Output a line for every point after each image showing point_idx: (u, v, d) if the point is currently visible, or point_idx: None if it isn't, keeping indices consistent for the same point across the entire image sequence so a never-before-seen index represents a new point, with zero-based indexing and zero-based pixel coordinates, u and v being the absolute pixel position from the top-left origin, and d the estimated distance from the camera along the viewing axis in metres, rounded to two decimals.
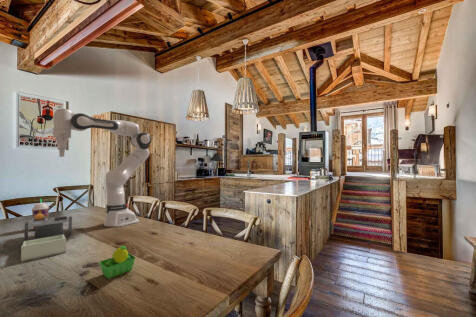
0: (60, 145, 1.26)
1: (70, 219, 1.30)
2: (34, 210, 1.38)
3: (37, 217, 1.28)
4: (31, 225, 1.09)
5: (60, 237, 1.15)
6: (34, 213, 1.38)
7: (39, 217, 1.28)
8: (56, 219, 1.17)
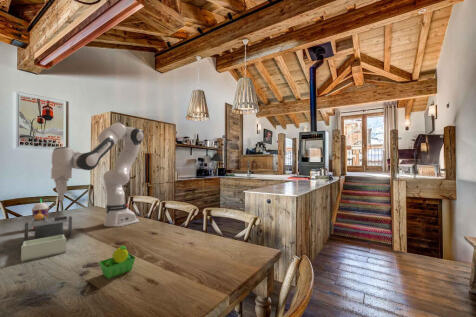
0: (59, 190, 1.12)
1: (70, 219, 1.30)
2: (34, 210, 1.38)
3: (37, 217, 1.28)
4: (31, 225, 1.09)
5: (60, 237, 1.15)
6: (34, 213, 1.38)
7: (39, 217, 1.28)
8: (56, 219, 1.17)
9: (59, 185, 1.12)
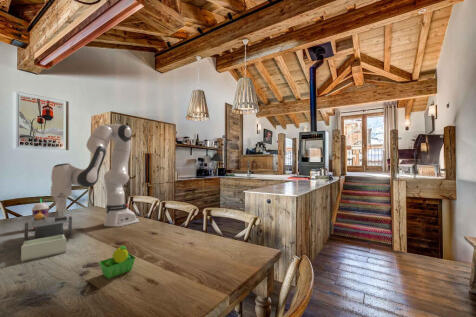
0: (59, 208, 1.12)
1: (70, 219, 1.30)
2: (34, 210, 1.38)
3: (37, 217, 1.28)
4: (31, 226, 1.09)
5: (60, 237, 1.15)
6: (34, 213, 1.38)
7: (39, 217, 1.28)
8: (56, 220, 1.17)
9: (59, 203, 1.12)
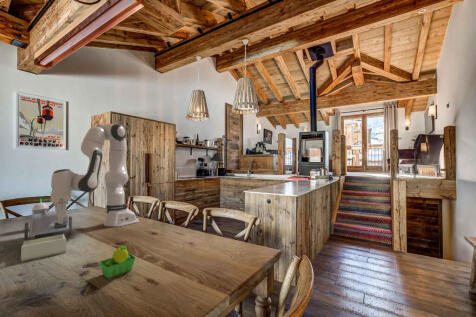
0: (59, 215, 1.11)
1: (70, 219, 1.30)
2: None
3: None
4: (31, 234, 1.09)
5: (60, 237, 1.15)
6: None
7: None
8: (56, 227, 1.16)
9: (58, 210, 1.12)
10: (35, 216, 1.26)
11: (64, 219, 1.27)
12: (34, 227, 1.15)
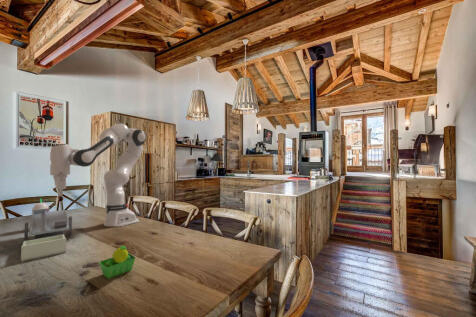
0: (58, 186, 1.16)
1: (70, 219, 1.30)
2: None
3: None
4: (31, 234, 1.09)
5: (60, 237, 1.15)
6: None
7: None
8: (56, 227, 1.16)
9: (58, 181, 1.16)
10: (35, 216, 1.26)
11: (64, 219, 1.27)
12: (34, 227, 1.15)
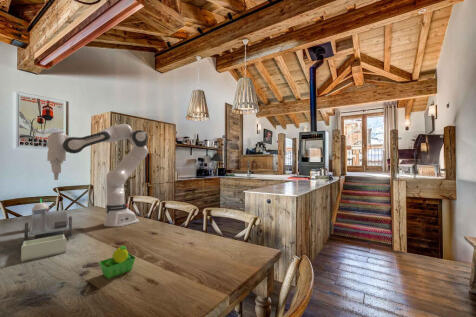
0: (54, 170, 1.28)
1: (70, 219, 1.30)
2: None
3: None
4: (31, 234, 1.09)
5: (60, 237, 1.15)
6: None
7: None
8: (56, 227, 1.16)
9: (54, 165, 1.28)
10: (35, 216, 1.26)
11: (64, 219, 1.27)
12: (34, 227, 1.15)
